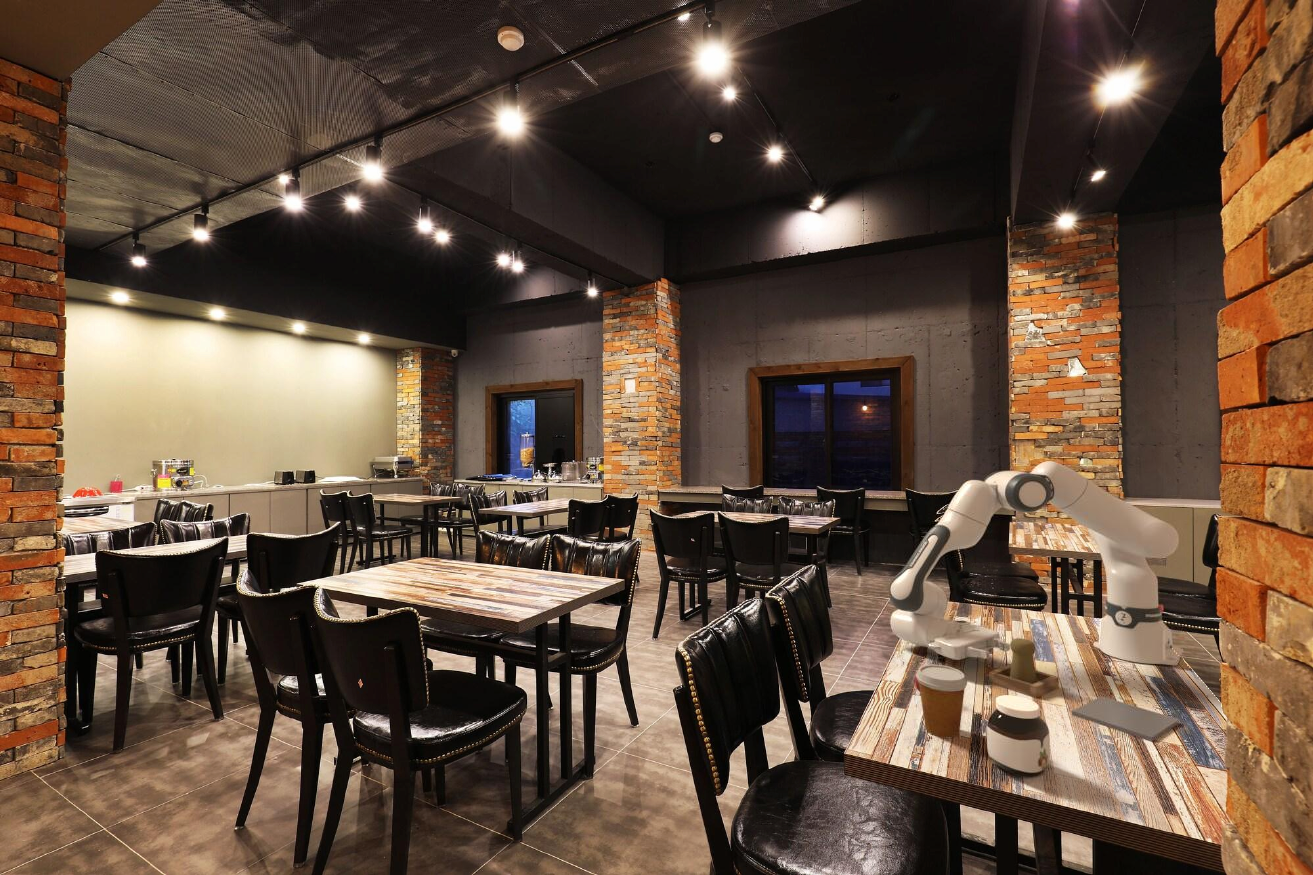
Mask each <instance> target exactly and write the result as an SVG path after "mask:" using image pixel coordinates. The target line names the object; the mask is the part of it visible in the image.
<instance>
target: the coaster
mask: <svg viewBox="0 0 1313 875" xmlns="http://www.w3.org/2000/svg"><path fill="white" fill-rule="evenodd" d="M1071 715H1072V716H1074V717H1078V718H1080V719H1083V720H1085V721H1090V722H1093V723H1095V724H1099V725H1101V726H1105V727H1108V728H1111V729H1114V730H1117V731H1119V732H1122V733H1125V734H1128V735H1131V736H1134V737H1138V738H1141V739H1143V740H1146V741H1149V742H1153V741H1155V740H1156V739H1158V738H1160V737H1161V736H1163V735H1164V734H1165V733H1167V732H1169V731H1170V730H1171V729H1173V728H1174V727H1177V726H1178V725H1179V724H1180V719H1179V718H1176V717H1172V716H1169V715H1165V714H1162V713H1159V712H1155V711H1153V710H1149V709H1145V708H1142V707H1139V706H1135V705H1132V704H1129V703H1127V702H1122V701H1119V700H1116V699H1112V698H1110V697H1109V698H1108V697H1106V696H1104V695H1103V696H1102V695H1101V696H1099V697H1096V698H1095V699H1093V700H1091V701H1089V702H1087V703H1085V704H1083V705H1081V706H1079V707H1077V708H1075V709H1073V710H1072V711H1071Z"/></svg>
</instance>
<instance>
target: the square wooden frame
mask: <svg viewBox="0 0 1313 875" xmlns="http://www.w3.org/2000/svg"><path fill="white" fill-rule="evenodd" d="M1011 664H1012V663H1010V664H1007V665H1004V666H1002V667H999V668H997V669H994V670H991V671H989V672H988V683H989V684H992V685H996V686H999V687H1002V688H1004V689H1007V690H1010V691H1013V692H1016V693H1019V694H1023V695H1026V696H1029V697H1032V698H1035V699H1036V698H1039V697H1041V696H1043V695H1045V694H1048V693H1049V692H1052V691H1054V690H1056V689H1058V688H1060V684H1059V682H1060V681H1059V679H1060V678H1059V676H1058V675H1057V676H1056V675H1052V674H1050V673H1046V672H1042V671H1039V670H1036V669H1035V672H1036V677H1037V683H1034V684H1030V683H1027V682H1024V681H1021V680H1018V679H1014V678H1011V677H1010V672H1011Z"/></svg>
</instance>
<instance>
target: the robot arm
mask: <svg viewBox="0 0 1313 875" xmlns="http://www.w3.org/2000/svg"><path fill="white" fill-rule="evenodd" d="M1048 503H1049V504H1050V505H1052V506H1053V507H1055V508H1056V509H1058V510H1059V511H1061V512H1062V513H1063V514H1064V515H1066V516H1068V517H1069V518H1070V519H1072V520H1073V521H1075V522H1076V523H1078V524H1079V525H1081V526H1083V527H1085V528H1087V531H1088V535H1089V536H1090V538H1091V539H1092V540H1093V541H1094V542H1095V545H1096V547H1097V548H1098V551H1099V554H1100V556H1101V560H1102V562H1103V566H1104V570H1105V571H1104V572H1105V575H1106V576H1105V577H1106V578H1105V579H1106V599H1105V604H1104V609H1105V610H1104V612H1105V614H1106V615H1105V616H1103V617H1102V618H1100V620H1099V634H1098V641H1094V642H1093V647H1095V648H1097V649H1099V650H1100V651H1101V652H1102V653H1104V654H1106V655H1108V656H1110V657H1113V658H1115V659H1116V658H1117V659H1121V660H1123V661H1128V662H1133V663H1140V664H1152V665H1153V664H1154V665H1155V664H1156V665H1168V666H1178V665H1179V662H1180V660H1181V659H1180V657H1181V658H1182V656H1183V655H1184V648H1181V647H1178V646H1175V645H1173V632H1172V630H1171V629H1170V628H1169V627H1168V626H1167V625H1166V624H1165V622H1164V621H1163V615H1162V613H1163V612H1164V605H1163V604H1159V585H1158V584H1159V583H1158V582H1159V580H1158V577H1157V575H1156V574H1155V573H1154V571H1153V570H1152V569H1151V568H1150V566H1149V564H1148V562H1147V560H1146V559H1147V558H1149V559H1152V558H1154V559H1156V558H1157V559H1158V558H1160V559H1161V558H1166V557H1169V556H1170V555H1172V554H1173V553H1175V551H1176V550H1177V549H1178V547H1179V542H1180V537H1179V533H1178V531H1177V530H1176V529H1175V527H1174V526H1172V525H1171V524H1170V523H1169V522H1166V521H1164V520H1162V519H1159V518H1157V517H1155V516H1153V515H1151V514H1150V513H1147V512H1145V511H1143V510H1142V509H1140V508H1139V507H1136V506H1135V505H1132V504H1130V503H1129V502H1127V501H1125V500H1123V499H1120V498H1118V497H1116V496H1115V495H1113V494H1111V493H1109V492H1107V491H1106V490H1104V489H1103V488H1102V487H1100V486H1098V485H1097V484H1096V483H1094V482H1092V480H1090V479H1088V478H1087V477H1085V476H1083V475H1082V474H1081V473H1079V472H1077V471H1076V470H1074V469H1072V468H1070V467H1068V466H1066V465H1063V464H1062V463H1059V462H1056V461H1052V460H1047V461H1044V462H1041V463H1038V464H1037V465H1036V466H1035V467H1034V468H1033V469H1032V470H1031V471H1030V472H1026V471H1025V472H1024V471H1019V470H1018V471H1017V470H1004V469H1003V470H1002V469H1001V470H997V471H994V472H992V473H990V474H988V475H987V476H986V477H985V478H983V479H982V480H979V479H971V480H970V479H969V480H968V481H966V482H964V483H963V484H962V485H961V486H960V488H958V490H957V492H956V493H955V495H954V496H953V497H952V499H951V501H950V503H949V505H948V507H947V508H946V510H945V512H944V514H943V516H942V517H941V518H940V520H939V521H938V523H936V524H935V525H934V526H933V527H932V528H930V530H929V531H928V532H927V533H926V534H925V536H924V537H923V539H922V540H921V541H920V543H919V545H918V546H917V547H916V549H915V551H914V552H913V554H912V555H911V557H910V558H909V560H908V561H907V563H906V564H905V566H903V568H902V569H901V570H900V571H899V572H898V573H897V574H896V575H895V576H894V577H893V578H892V580H891V581H890V583H889V585H888V598H889V601H890V603H891V604H892V606H893V607H894V608H895V609H896V610H894V611H893V612H892V613H891V616H890V627H891V630H892V632H893V634H894V635H895V636H896V637H898V638H899V639H901V640H903V641H904V642H907V643H910V644H912V645H915V646H919V647H926V648H928V649H930V650H932V651H934V652H935V653H936V654H938V655H941V656H943V657H945V658H949V659H952V660H956V661H957V660H958V661H959V660H962V659H963V660H964V659H966V658H969V657H970V658H981V659H985V660H986V659H990V657H991V656H990V655H991V654H990V650H992V649H994V648H995V649H997V648H998V649H999V650H1000V651H1003V652H1009V651H1010V650H1011V647H1010V643H1008V642H1005V641H1003V640H1001V638H1000V637H1001V635H1000V633H999V632H998V631H996V630H994V629H990V628H987V627H984V626H981V625H977V624H971V622H970V621H968V620H950V619H944V617H945V614H946V611H947V608H948V604H949V602H948V600H949V599H948V595H947V593H946V591H945V590H944V588H943V587H941V586H939V585H938V584H935V583H933V582H931V581H927V578H928V577H929V575H930V574H931V572H932V570H933V569H934V568H935V566H936V564H937V563H938V561H939V560H940V558H941V557H942V556H944V555H945V554H946V553H948V552H952V551H955V550H962V549H968V548H971V547H973V546H976V544H977V543H978V542H979V541H980V540H981V539H982V537H983V536H984V534H985V532H986V530H987V527H988V525H989V524H990V522H991V520H992V519H991V518H992V517H993V516H994V514H995V513H996V512H997V511H998V510H1000V509H1002V508H1003V509H1006V510H1010V511H1016V512H1020V513H1033V512H1036V511H1039V510H1041V509H1042V508H1044V507H1045V506H1046V505H1047V504H1048ZM1172 648H1173V649H1172ZM1174 650H1175V651H1176V652H1177V654H1176V652H1174ZM1178 655H1179V656H1178Z"/></svg>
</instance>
